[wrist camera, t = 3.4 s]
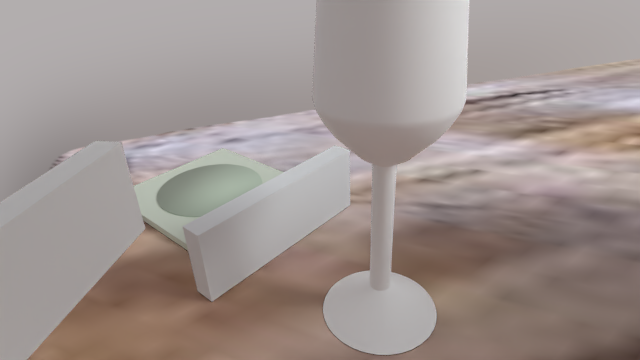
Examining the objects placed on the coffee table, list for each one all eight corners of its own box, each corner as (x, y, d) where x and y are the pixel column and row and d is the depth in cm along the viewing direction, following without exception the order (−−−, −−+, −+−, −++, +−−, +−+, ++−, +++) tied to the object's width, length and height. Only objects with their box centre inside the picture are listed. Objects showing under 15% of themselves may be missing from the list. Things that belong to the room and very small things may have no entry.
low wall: (336, 199, 36) (334, 145, 34) (350, 204, 36) (349, 150, 33) (197, 290, 27) (182, 226, 25) (212, 301, 26) (197, 235, 24)
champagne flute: (458, 303, 26) (545, -240, 14) (394, 378, 21) (443, -311, 10) (367, 256, 30) (376, -194, 18) (298, 312, 25) (252, -229, 14)
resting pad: (223, 153, 45) (222, 147, 45) (307, 187, 38) (307, 180, 38) (114, 200, 38) (112, 194, 37) (194, 255, 30) (192, 247, 30)
